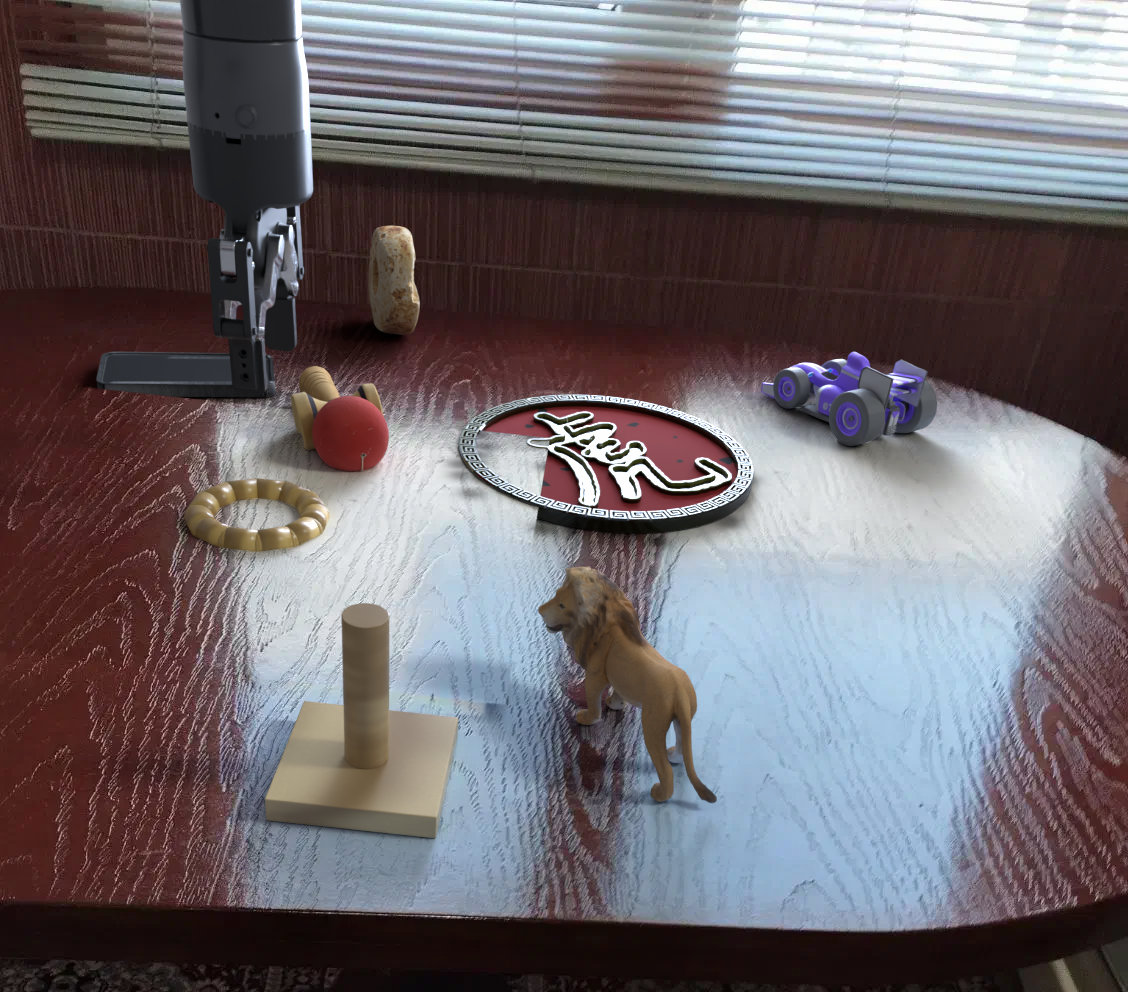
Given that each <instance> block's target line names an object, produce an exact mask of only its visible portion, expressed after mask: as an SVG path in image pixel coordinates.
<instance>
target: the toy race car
mask: <svg viewBox="0 0 1128 992" xmlns="http://www.w3.org/2000/svg"><path fill="white" fill-rule="evenodd" d="M928 373H929V370H928V371H927V370H926V369H924V368H921V367H919V366H916V365H914V364H912V363H910V362H908V361H906V360H903V359H899V360H897V361H896V362H894V366H893V370H892V373H887V374H885V373H883V372H880V371H879V370H877V369H874V368H872V367H871V364H870V361H869V360H868V358H867V357H866V356H864V355H862V354H860V353H858V352H856V351H852V352H850V353H849V354H848V356H847V360H846V359H843V358H836V359H832V360H828V361H825V362H824V363H823V364H822V365H818V364H816V363H812V362H801V363H798V364H794V365H792V366H790V367H789V368H784V369H781V370H779V372H778V373H776V375H775V377H774V380H773V383H772V382H771V383H770V382H762V383H761V388H760V389H761V390H760V393H762V394H763V395H765V396H767V397H769V398H772V399H775V401H776V403H777V404H778V406H780V407H782V408H784V409H786V410H787V409H794V408H798V409H799V410H801V411H802V412H804V413H806V414H808V415H810V416H812V417H815V418H816V419H819V420H821V421H822V420H823V421H824V422H827V423H829V427H830V430H831V433H832V435H833V437H834V438H835V439H836V440H837V441H838V442H839V443H840V444H842V445H844V446H848V447H853V446H854V447H855V446H857V445H859V446H860V445H862V444H863V445H864V444H867V443H870V442H872V441H874V440H876V439H877V438H878V437H879V436H881V435H882V436H890V435H893V434H895V433H899V434H907V433H911V432H916V431H920V430H923V429H926V428H927V427H928V426H930V424H932V422H933V420H934V418H935V416H936V414H937V409H938V398H937V393H936V392H935V389H934V388H933V386H932V384H930V382H929V381H927V380H926V379H927V376H928ZM813 394H814V397H815V403H811V404H806V403H807V402H808V400H809V398H810V395H813Z"/></svg>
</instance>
